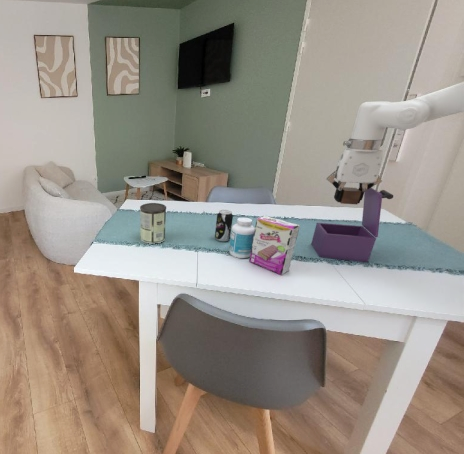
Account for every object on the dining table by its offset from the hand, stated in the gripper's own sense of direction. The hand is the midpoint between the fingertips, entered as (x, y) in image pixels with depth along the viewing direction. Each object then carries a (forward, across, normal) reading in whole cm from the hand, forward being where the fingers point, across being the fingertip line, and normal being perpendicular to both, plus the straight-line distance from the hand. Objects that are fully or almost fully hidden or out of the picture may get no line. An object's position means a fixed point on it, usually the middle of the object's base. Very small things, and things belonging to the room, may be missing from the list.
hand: (346, 201), depth 96 cm
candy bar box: (+19, -22, -17) cm, 34 cm away
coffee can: (+20, -64, -5) cm, 67 cm away
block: (0, 0, 0) cm, 0 cm away
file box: (+19, +2, 0) cm, 19 cm away
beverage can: (+20, -36, +1) cm, 41 cm away
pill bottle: (+19, -30, -10) cm, 38 cm away
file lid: (+3, +7, 0) cm, 7 cm away
